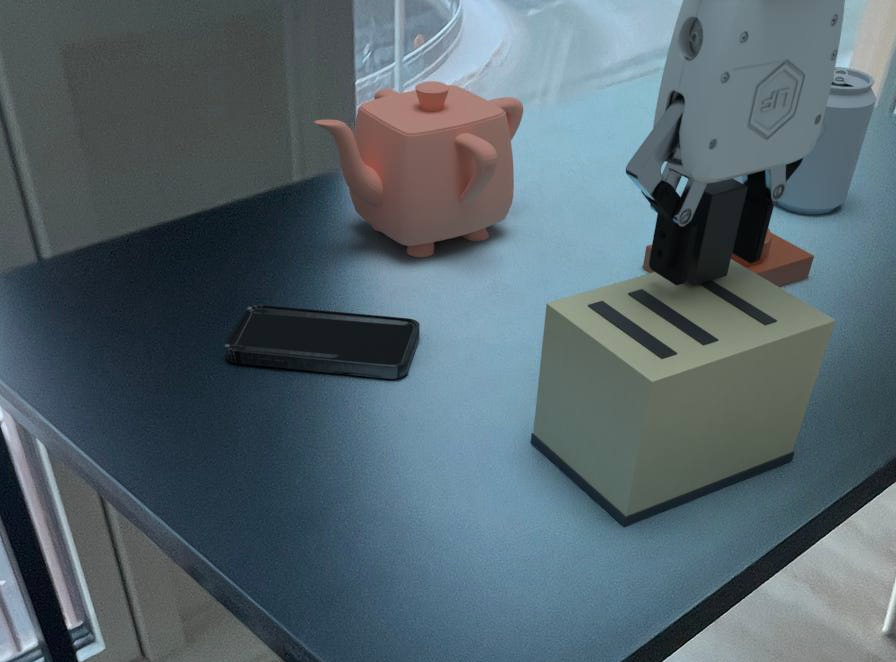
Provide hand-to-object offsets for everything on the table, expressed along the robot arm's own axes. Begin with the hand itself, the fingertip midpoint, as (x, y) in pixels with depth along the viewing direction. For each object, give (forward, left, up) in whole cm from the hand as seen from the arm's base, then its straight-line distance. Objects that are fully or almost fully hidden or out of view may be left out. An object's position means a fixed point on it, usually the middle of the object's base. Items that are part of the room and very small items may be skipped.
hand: (704, 262), depth 68 cm
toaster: (+3, +3, -12) cm, 13 cm away
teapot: (0, -37, -12) cm, 39 cm away
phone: (+18, -22, -12) cm, 31 cm away
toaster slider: (0, 0, -1) cm, 1 cm away
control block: (-20, -16, -12) cm, 28 cm away
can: (-38, -24, -12) cm, 46 cm away
